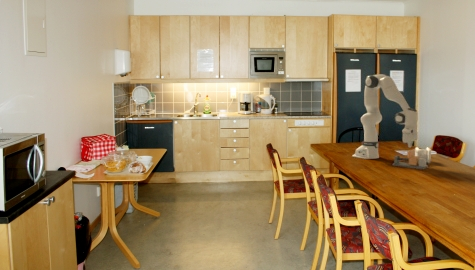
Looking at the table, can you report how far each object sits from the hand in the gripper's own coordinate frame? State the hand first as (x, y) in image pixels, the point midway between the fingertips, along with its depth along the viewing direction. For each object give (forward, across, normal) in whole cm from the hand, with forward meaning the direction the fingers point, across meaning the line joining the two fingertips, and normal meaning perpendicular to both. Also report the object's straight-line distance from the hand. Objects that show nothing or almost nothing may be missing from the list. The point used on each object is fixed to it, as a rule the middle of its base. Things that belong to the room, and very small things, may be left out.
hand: (409, 147), depth 347 cm
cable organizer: (+15, -21, +3) cm, 26 cm away
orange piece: (+13, 0, +4) cm, 14 cm away
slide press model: (+15, 0, +1) cm, 15 cm away
